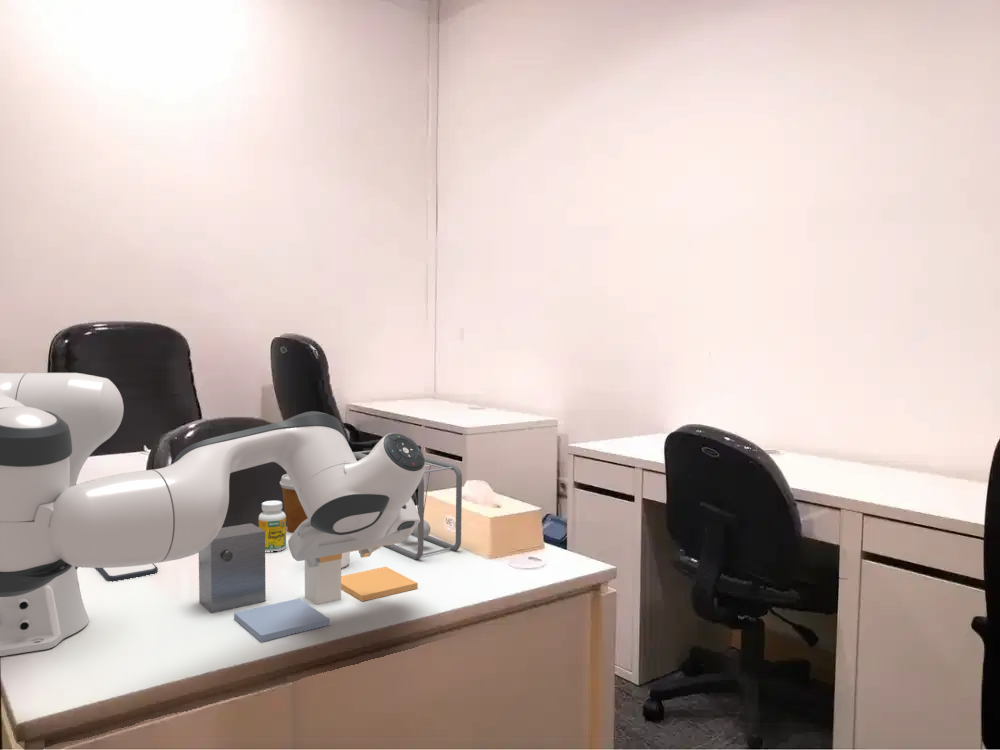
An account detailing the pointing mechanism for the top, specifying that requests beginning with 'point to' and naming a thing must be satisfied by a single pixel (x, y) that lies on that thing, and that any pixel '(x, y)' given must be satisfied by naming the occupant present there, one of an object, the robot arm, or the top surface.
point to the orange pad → (376, 583)
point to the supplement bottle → (273, 525)
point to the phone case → (127, 572)
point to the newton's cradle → (423, 526)
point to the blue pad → (280, 619)
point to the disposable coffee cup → (291, 505)
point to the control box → (233, 569)
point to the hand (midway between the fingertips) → (337, 558)
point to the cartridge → (324, 580)
